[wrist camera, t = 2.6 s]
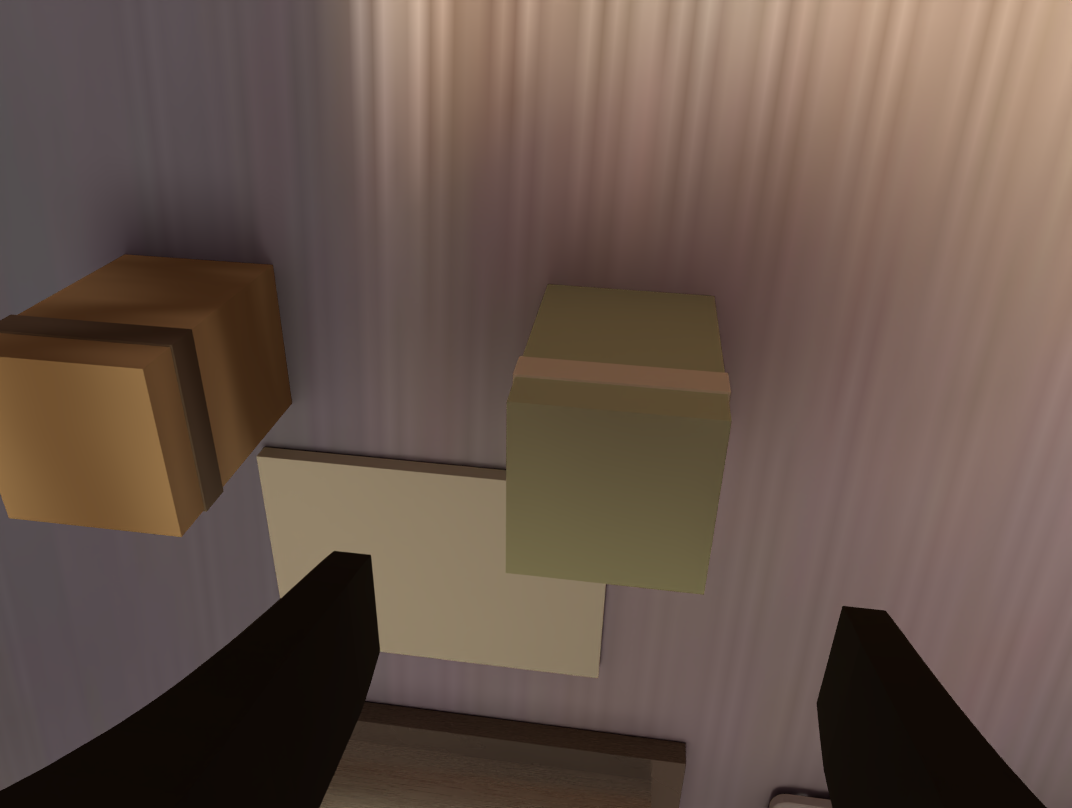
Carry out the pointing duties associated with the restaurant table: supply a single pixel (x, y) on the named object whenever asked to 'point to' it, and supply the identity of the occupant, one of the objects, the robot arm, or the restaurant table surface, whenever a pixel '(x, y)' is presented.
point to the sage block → (617, 439)
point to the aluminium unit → (498, 764)
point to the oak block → (139, 392)
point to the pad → (429, 559)
